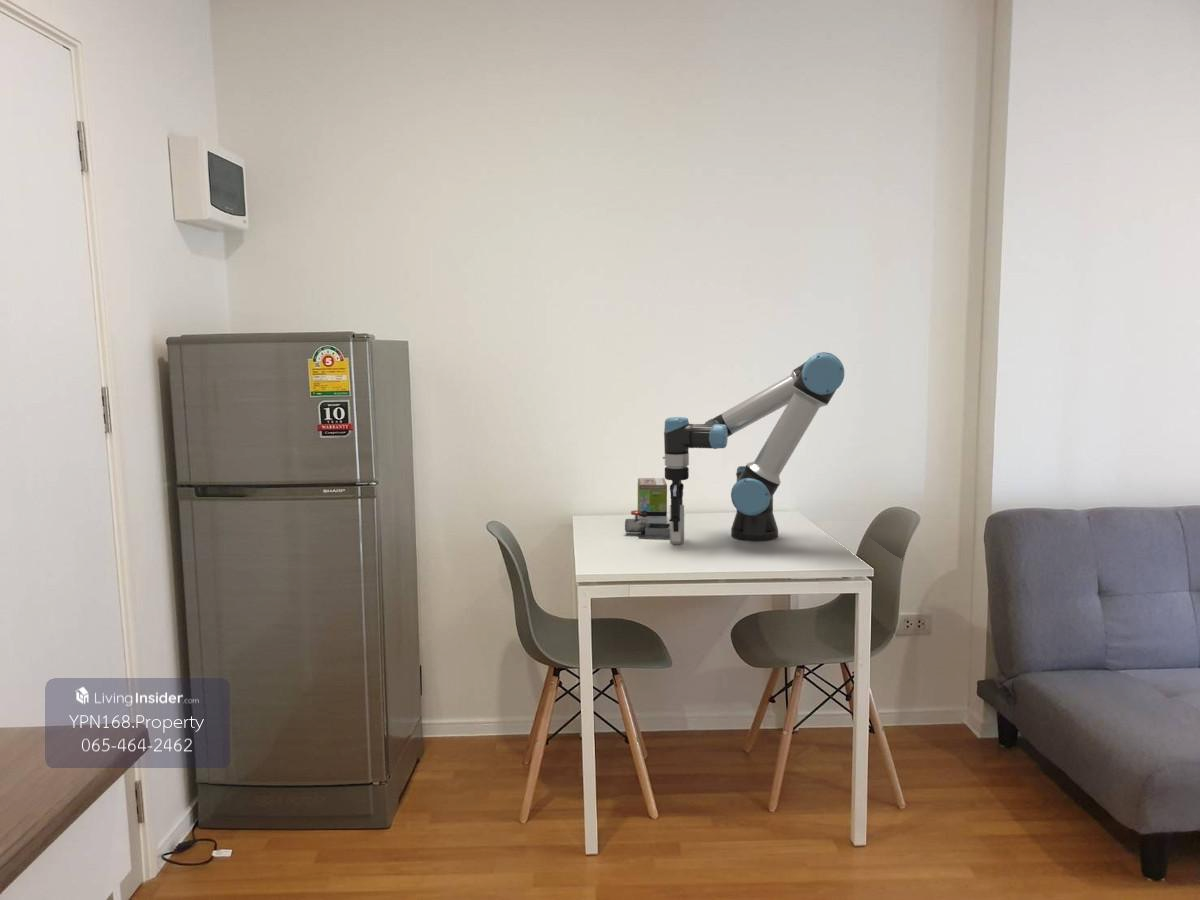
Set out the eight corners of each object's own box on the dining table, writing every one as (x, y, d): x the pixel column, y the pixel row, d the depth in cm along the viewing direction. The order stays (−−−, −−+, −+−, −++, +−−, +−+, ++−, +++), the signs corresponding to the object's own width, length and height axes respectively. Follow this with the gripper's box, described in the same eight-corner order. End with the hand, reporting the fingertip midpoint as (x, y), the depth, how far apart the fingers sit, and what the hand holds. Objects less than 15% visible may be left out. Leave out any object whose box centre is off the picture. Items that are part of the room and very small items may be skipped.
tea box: (667, 526, 295) (667, 484, 293) (638, 526, 295) (638, 484, 294) (665, 517, 310) (664, 476, 308) (637, 517, 310) (636, 477, 308)
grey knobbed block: (679, 531, 287) (679, 508, 286) (675, 539, 275) (675, 516, 274) (629, 529, 290) (628, 507, 289) (623, 538, 279) (622, 515, 278)
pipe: (684, 541, 273) (684, 504, 271) (683, 544, 269) (683, 507, 267) (670, 540, 274) (670, 504, 272) (669, 544, 270) (668, 506, 268)
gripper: (667, 462, 277) (668, 532, 280) (661, 470, 260) (662, 545, 263) (691, 462, 276) (691, 533, 279) (685, 471, 259) (686, 546, 262)
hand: (677, 539), depth 271 cm, fingers closed on pipe, 4 cm apart
